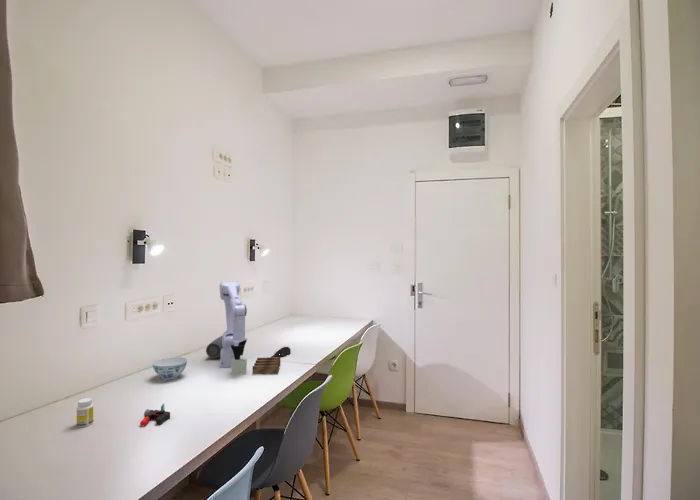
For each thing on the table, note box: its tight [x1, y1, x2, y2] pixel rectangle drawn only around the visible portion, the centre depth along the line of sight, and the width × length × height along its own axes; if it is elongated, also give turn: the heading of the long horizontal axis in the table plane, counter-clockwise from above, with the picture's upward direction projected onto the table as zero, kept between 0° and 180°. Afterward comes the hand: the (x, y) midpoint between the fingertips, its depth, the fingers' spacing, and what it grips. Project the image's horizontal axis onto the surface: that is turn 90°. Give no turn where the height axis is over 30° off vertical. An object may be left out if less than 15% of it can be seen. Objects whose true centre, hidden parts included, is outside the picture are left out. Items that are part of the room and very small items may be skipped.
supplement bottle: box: [76, 397, 94, 428], centre depth 134 cm, size 5×5×8 cm
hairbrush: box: [270, 346, 292, 358], centre depth 218 cm, size 8×4×25 cm
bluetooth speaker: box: [205, 335, 223, 359], centre depth 223 cm, size 23×9×10 cm, turn 179°
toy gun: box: [139, 403, 171, 427], centre depth 137 cm, size 10×12×5 cm
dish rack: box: [252, 356, 281, 375], centre depth 195 cm, size 12×15×4 cm
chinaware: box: [151, 356, 188, 381], centre depth 182 cm, size 15×15×8 cm
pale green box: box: [230, 358, 248, 375], centre depth 189 cm, size 7×2×7 cm, turn 95°
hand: (238, 357), depth 189 cm, fingers open, 7 cm apart
